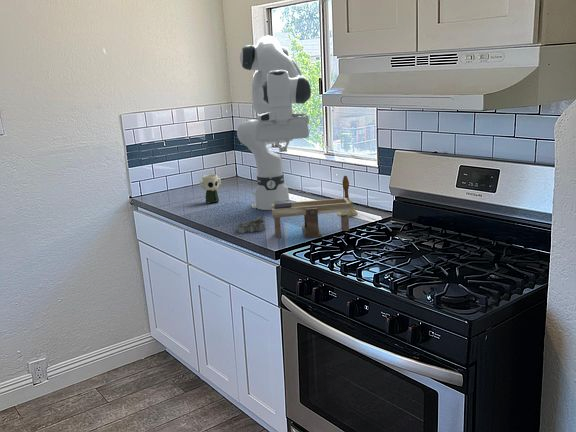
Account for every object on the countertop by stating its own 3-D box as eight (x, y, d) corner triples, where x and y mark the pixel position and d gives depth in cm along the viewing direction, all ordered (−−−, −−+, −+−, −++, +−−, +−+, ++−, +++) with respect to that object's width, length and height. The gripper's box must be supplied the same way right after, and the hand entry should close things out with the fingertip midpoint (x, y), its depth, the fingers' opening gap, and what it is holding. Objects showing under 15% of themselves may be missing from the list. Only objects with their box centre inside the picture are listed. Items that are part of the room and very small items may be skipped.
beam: (272, 211, 219) (271, 204, 218) (346, 205, 220) (346, 197, 219) (273, 217, 210) (272, 209, 209) (350, 211, 211) (349, 203, 210)
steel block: (274, 210, 216) (274, 201, 216) (291, 209, 217) (290, 199, 216) (275, 213, 212) (274, 204, 211) (291, 212, 212) (291, 202, 211)
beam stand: (274, 230, 223) (272, 203, 221) (344, 224, 224) (343, 197, 222) (276, 240, 209) (274, 212, 207) (351, 234, 210) (349, 206, 208)
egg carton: (264, 226, 231) (263, 216, 230) (265, 231, 224) (264, 221, 223) (237, 228, 230) (236, 218, 229) (237, 233, 223) (236, 223, 222)
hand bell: (349, 217, 234) (348, 178, 230) (333, 215, 240) (331, 176, 236) (361, 213, 240) (360, 174, 236) (345, 210, 246) (343, 173, 242)
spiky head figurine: (205, 205, 272) (203, 178, 269) (198, 203, 278) (195, 176, 275) (226, 201, 278) (223, 174, 275) (218, 199, 284) (216, 173, 281)
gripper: (307, 112, 221) (309, 148, 225) (253, 115, 220) (256, 152, 224) (309, 113, 215) (311, 150, 218) (253, 117, 214) (256, 154, 218)
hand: (283, 151), depth 221 cm, fingers closed
